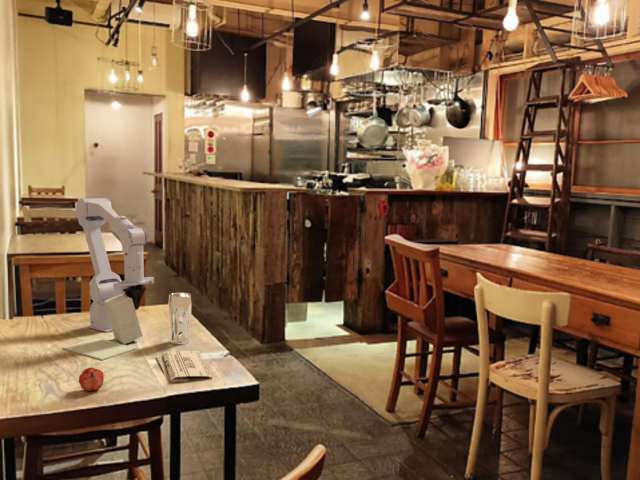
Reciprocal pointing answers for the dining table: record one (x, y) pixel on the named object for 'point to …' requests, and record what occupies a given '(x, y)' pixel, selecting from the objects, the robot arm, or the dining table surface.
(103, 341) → the mat
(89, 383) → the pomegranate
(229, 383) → the dining table surface
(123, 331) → the small box
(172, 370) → the newspaper
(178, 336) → the beer glass
